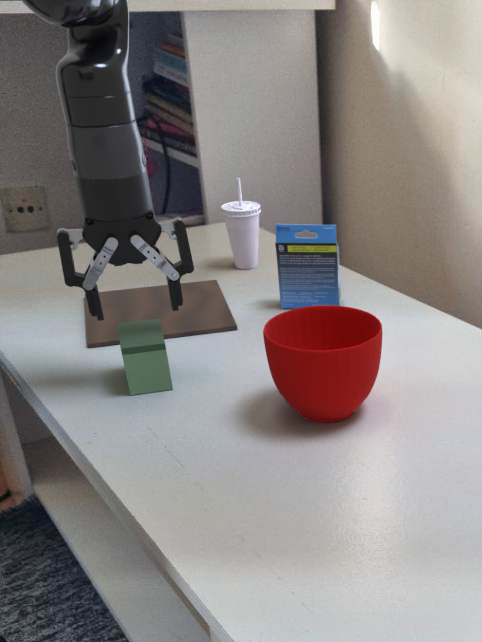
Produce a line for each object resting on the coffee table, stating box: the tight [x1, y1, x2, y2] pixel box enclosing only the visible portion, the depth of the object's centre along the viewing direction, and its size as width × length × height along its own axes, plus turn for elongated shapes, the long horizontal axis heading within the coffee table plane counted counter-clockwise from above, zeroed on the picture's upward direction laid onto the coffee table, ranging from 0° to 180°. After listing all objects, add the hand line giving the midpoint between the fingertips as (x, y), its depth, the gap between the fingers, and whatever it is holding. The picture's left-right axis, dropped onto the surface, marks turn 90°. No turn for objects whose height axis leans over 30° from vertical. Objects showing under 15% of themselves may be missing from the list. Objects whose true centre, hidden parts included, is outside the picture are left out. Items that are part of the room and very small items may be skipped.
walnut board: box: [84, 279, 239, 349], centre depth 117 cm, size 20×20×1 cm
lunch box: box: [118, 319, 174, 396], centre depth 98 cm, size 5×8×6 cm, turn 18°
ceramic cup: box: [262, 305, 383, 423], centre depth 91 cm, size 13×17×10 cm
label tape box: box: [274, 223, 342, 310], centre depth 116 cm, size 9×4×12 cm, turn 89°
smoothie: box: [220, 177, 262, 270], centre depth 131 cm, size 6×6×14 cm
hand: (138, 313), depth 95 cm, fingers open, 8 cm apart
